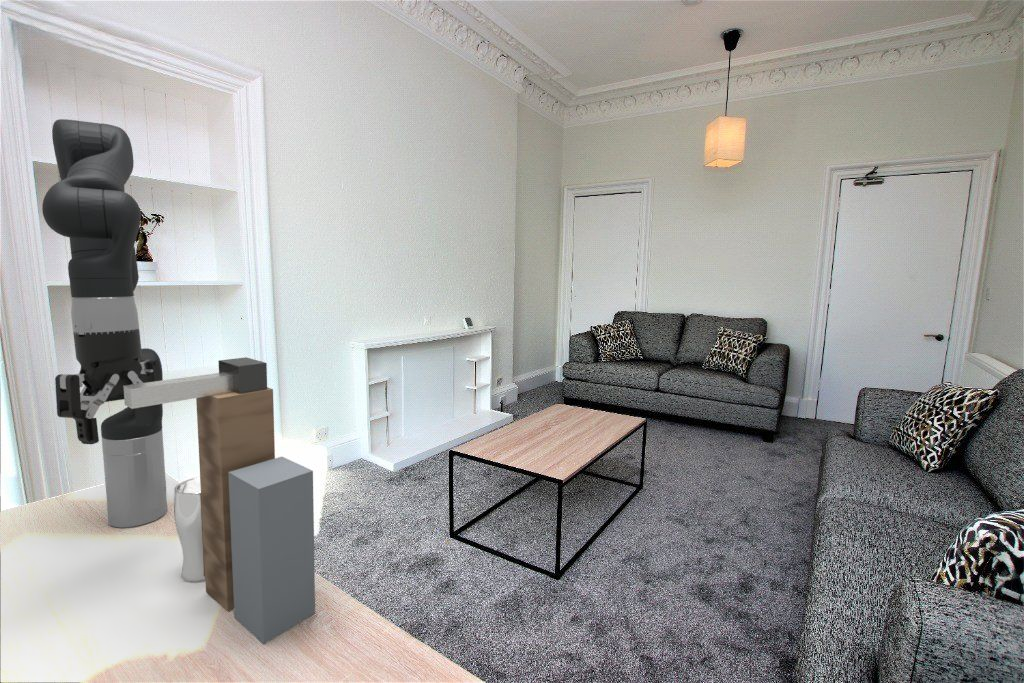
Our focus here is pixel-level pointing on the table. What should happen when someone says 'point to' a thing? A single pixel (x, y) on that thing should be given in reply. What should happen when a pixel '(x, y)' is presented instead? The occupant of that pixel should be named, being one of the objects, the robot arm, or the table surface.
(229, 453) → the tall wooden post
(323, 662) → the table surface
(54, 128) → the robot arm
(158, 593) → the table surface
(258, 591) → the grey tall block
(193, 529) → the beer glass
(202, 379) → the blocky hammer
